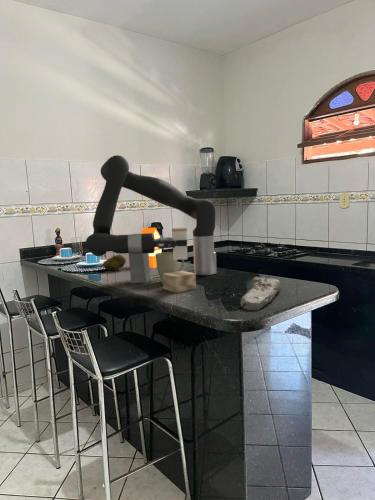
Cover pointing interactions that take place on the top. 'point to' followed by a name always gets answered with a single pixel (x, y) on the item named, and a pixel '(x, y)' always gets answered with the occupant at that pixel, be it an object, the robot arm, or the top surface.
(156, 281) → the top surface
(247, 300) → the long grey stone
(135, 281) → the skincare box
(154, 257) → the orange juice
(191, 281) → the oak block
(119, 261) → the potato
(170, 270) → the mug
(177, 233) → the canister
